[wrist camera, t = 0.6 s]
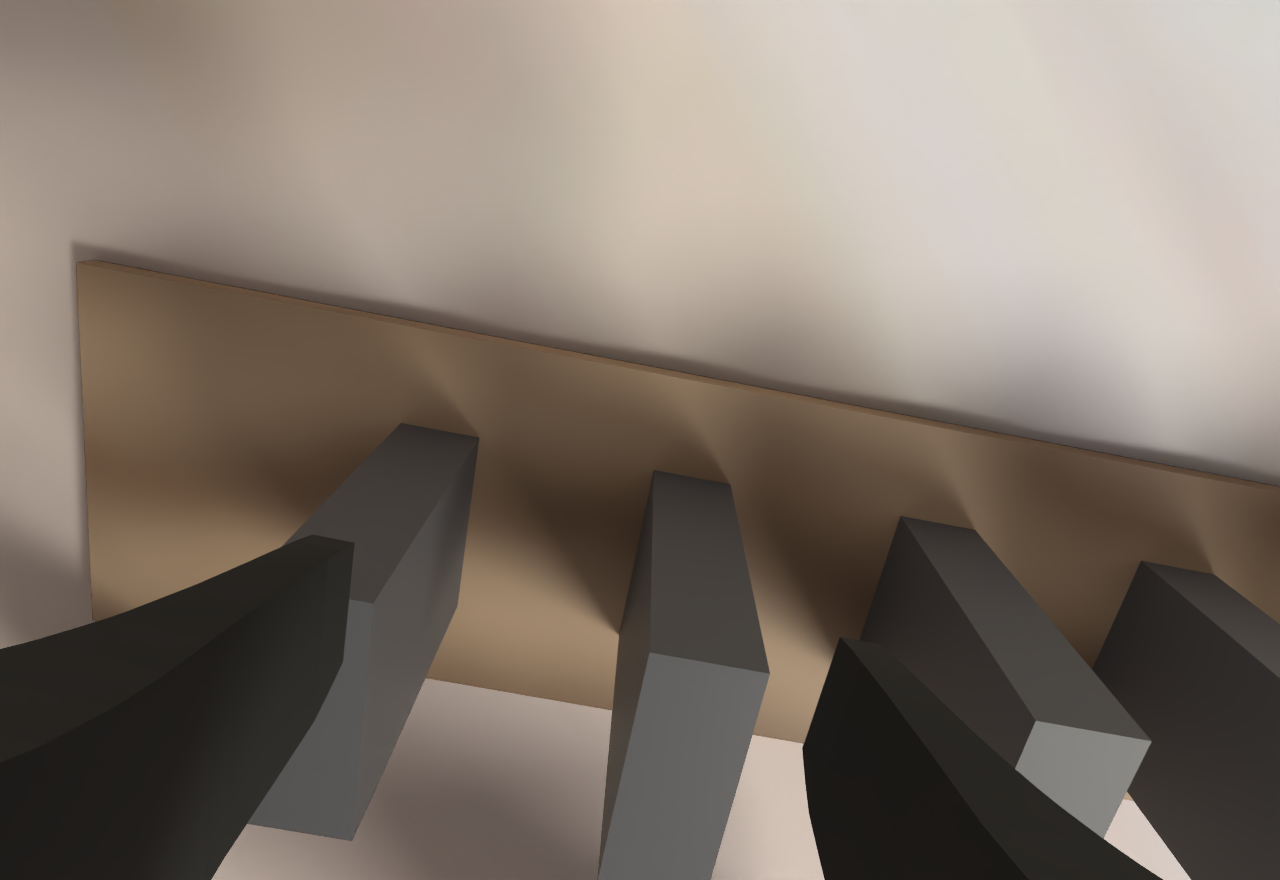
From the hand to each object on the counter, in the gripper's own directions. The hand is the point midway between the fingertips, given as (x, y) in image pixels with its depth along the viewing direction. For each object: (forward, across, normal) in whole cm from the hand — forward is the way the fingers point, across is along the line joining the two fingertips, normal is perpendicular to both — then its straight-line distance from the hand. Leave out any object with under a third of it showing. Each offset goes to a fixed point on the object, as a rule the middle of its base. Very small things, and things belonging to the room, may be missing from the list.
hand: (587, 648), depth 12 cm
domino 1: (+9, +4, +3) cm, 11 cm away
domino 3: (+9, -9, +3) cm, 13 cm away
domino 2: (+9, -2, +3) cm, 10 cm away
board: (+10, -6, +3) cm, 12 cm away
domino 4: (+9, -15, +3) cm, 18 cm away
